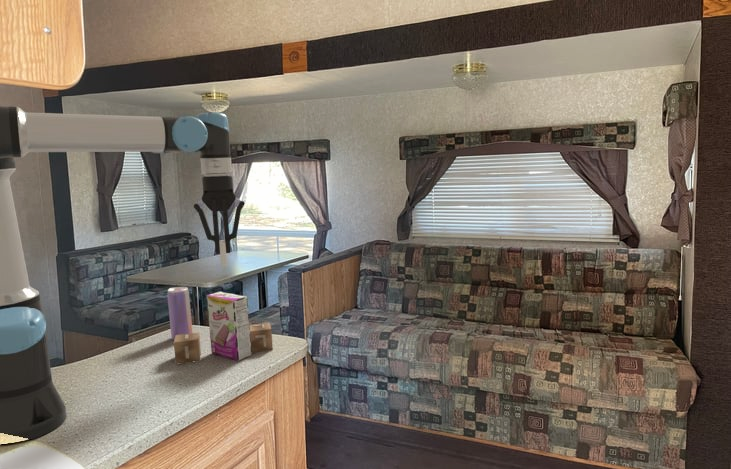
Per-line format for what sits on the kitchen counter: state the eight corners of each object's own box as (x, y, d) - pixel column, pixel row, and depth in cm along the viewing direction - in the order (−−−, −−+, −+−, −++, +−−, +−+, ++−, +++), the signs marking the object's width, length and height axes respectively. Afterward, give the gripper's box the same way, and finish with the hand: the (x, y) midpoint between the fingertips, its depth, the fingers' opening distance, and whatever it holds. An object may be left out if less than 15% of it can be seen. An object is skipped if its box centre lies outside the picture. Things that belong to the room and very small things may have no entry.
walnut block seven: (250, 353, 147) (248, 331, 146) (249, 345, 153) (247, 324, 152) (272, 350, 148) (271, 328, 147) (271, 342, 154) (269, 321, 153)
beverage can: (180, 343, 157) (175, 292, 154) (167, 339, 160) (162, 290, 158) (197, 336, 162) (192, 287, 159) (183, 333, 165) (179, 285, 163)
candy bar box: (210, 354, 147) (205, 295, 145) (224, 348, 151) (220, 290, 149) (238, 361, 140) (233, 300, 138) (252, 355, 145) (248, 295, 142)
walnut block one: (175, 364, 140) (173, 341, 139) (177, 356, 146) (175, 334, 145) (199, 361, 142) (197, 339, 141) (201, 353, 148) (199, 331, 147)
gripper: (189, 176, 133) (197, 270, 137) (243, 174, 137) (250, 266, 140) (191, 175, 141) (199, 265, 144) (242, 173, 144) (249, 260, 147)
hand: (224, 265), depth 142 cm, fingers closed
